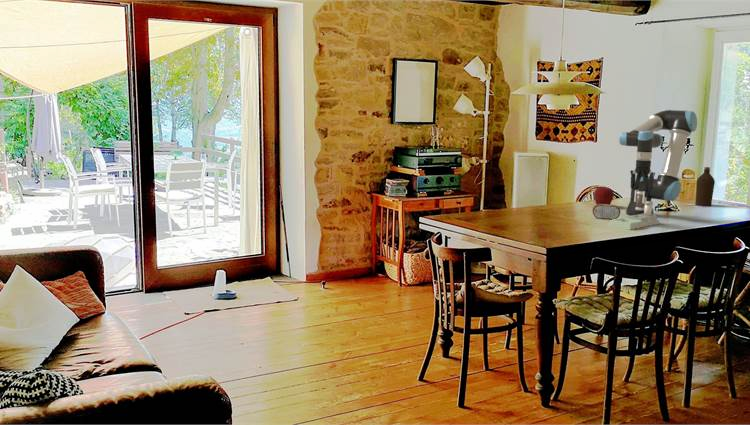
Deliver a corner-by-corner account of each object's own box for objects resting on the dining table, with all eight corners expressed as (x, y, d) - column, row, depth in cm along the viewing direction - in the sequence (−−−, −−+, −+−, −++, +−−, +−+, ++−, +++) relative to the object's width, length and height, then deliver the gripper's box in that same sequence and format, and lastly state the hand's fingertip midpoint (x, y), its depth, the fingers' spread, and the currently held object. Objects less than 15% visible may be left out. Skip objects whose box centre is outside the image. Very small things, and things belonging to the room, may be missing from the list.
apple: (604, 209, 423) (606, 187, 421) (589, 206, 432) (590, 185, 430) (616, 207, 430) (618, 186, 428) (600, 204, 439) (602, 184, 437)
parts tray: (609, 226, 368) (610, 219, 367) (622, 223, 375) (622, 217, 374) (629, 229, 358) (630, 223, 358) (642, 227, 366) (643, 221, 365)
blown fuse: (633, 209, 373) (635, 191, 371) (638, 208, 375) (639, 191, 373) (640, 210, 370) (642, 192, 368) (645, 210, 372) (646, 192, 370)
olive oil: (714, 207, 440) (718, 168, 436) (696, 206, 442) (700, 167, 437) (709, 204, 450) (713, 166, 446) (692, 203, 452) (696, 166, 448)
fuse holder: (625, 223, 375) (626, 215, 374) (642, 220, 385) (643, 212, 385) (642, 226, 367) (642, 218, 367) (659, 223, 378) (659, 215, 377)
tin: (619, 219, 389) (620, 204, 387) (619, 220, 386) (621, 205, 384) (591, 217, 393) (593, 203, 391) (592, 218, 390) (593, 204, 388)
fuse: (641, 219, 379) (643, 201, 377) (645, 218, 382) (647, 200, 380) (648, 220, 376) (650, 202, 374) (652, 219, 378) (654, 201, 377)
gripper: (625, 158, 372) (622, 200, 376) (654, 161, 358) (651, 205, 363) (633, 157, 376) (629, 199, 381) (662, 160, 363) (658, 204, 367)
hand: (640, 202), depth 372 cm, fingers closed on blown fuse, 4 cm apart
